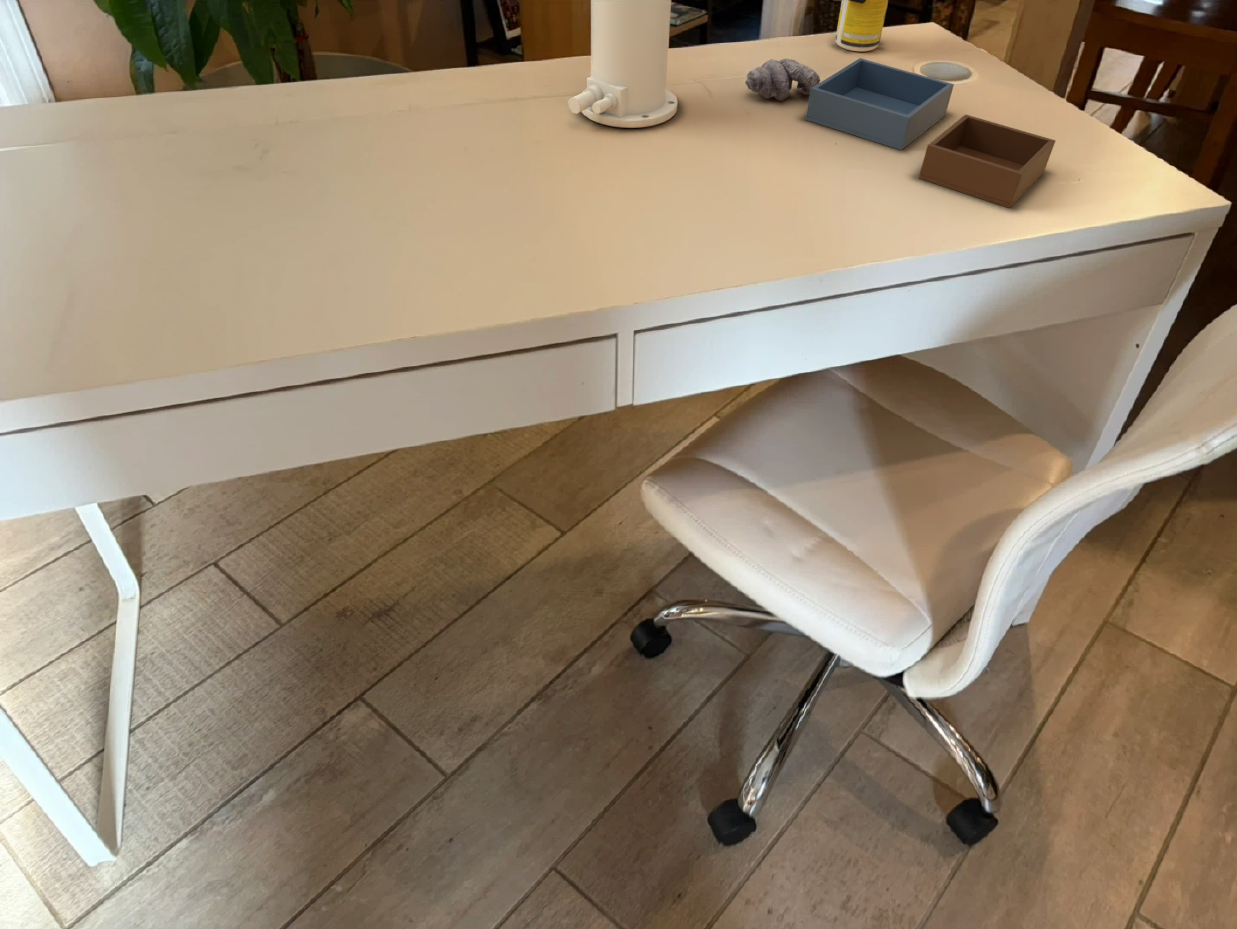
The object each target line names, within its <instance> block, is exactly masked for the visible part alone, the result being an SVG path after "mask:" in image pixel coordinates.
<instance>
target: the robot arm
mask: <svg viewBox="0 0 1237 929" xmlns="http://www.w3.org/2000/svg"><path fill="white" fill-rule="evenodd" d="M849 1H853V2H857V3H864V2H865V1H866V0H849ZM671 11H672V0H590V76H588V77H587V78H586V88H584V90H583V91H581V93H579V94H577V95H576V94H575V96H572V97H571V98H569V99H568V101H567V107H568V109H569V111H570V112H571V113H572V114H573V115H576V114H577V115H578V114H580V113H582V114H583V115H584V116H585V117H586V118H588V119H589V120H591V121H593V122H595V123H598V124H601V125H604V126H609V127H615V128H623V129H624V128H628V129H635V128H647V127H652V126H656V125H659V124H662V123H665V122H666V121H668V120H671V119H672V117H674V116H675V115H676V113H677V111H678V98H677V96H676V95H675V93H673V91H671V90H670V89H668V88H667V80H668V79H667V78H668V65H669V64H668V63H669V46H670V45H669V44H670V29H671Z"/></svg>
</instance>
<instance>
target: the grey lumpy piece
mask: <svg viewBox="0 0 1237 929" xmlns="http://www.w3.org/2000/svg"><path fill="white" fill-rule="evenodd" d="M793 81H794V82H797V84H796V89H797V90H800V89H801V90H800V92H801V93H803V95H804V96H806V95H810V90H811V88H812V87H814V86H815V85H817V84H819V83H820V82H821V77H820V74H819V73H817V71H815V70H814V69H813V68H811V67H808V66H807V65H805V64H803V63H801V62H799V61H797V60H795V59H790V58H783V59H780V60H777V59H773V58H771V59H769V60H766V61H765V62H764V63H763V64H762V65H761V66H757V67H755V68H754V69H751V70H750V71H749V72H748V73H747V74H746V79H745V81H744V83H745V85H746V86H747V89H748V90H750V91H752V92H753V93H757V94H759V95H760V96H761V97H762V98H764V99H771V98H774V99H776V100H777V101H780V102H782V101H784V100H785V99H788V98H789V97H790V94H791V93H790V91H791V90H792V87H793Z"/></svg>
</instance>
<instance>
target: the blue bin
mask: <svg viewBox="0 0 1237 929" xmlns="http://www.w3.org/2000/svg"><path fill="white" fill-rule="evenodd" d="M954 85H955V84H954V83H952V82H948V81H944V80H940V79H937V78H933V77H930V76H927V75H923V74H918V73H916V72H912V71H908V70H905V69H901V68H897V67H894V66H890V65H887V64H884V63H879V62H875V61H871V60H869V59H864V58H861V57H860V58H857V59H855V60H854V61H853V62H851V63H849V64H848V65H846V66H844V67H843V68H842V69H840V70H838V71H837V72H835V73H833V74H832V75H830V76H828V77H827V78H825V79H823V80H821V81H820V82H819V84H817V85H815V86H814V87H812V88H811V90H810V94H809V97H808V103H807V109H806V115H805V120H806V121H808V122H812V123H815V124H817V125H821V126H825V127H827V128H831V129H833V130H836V131H840V132H843V133H846V134H850V135H852V136H856V137H858V138H861V139H865V140H867V141H872V142H875V143H878V144H881V145H884V146H887V147H890V148H893V149H897V150H900V151H902V150H904V148H906V147H907V146H908V145H910V144H911V143H912V142H913V141H915V140H916V139H917V138H919V137H920V136H921V135H922V134H924V133H925V132H926V131H927V130H928V129H930V128H931V127H932V126H934V125H935V124H936V123H937V122H939V121H940V120H941V119H942V118H944V117H945V116H946V115H947V111H948V108H949V105H950V104H949V103H950V100H951V96H952V93H953V90H954Z"/></svg>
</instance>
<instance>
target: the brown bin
mask: <svg viewBox="0 0 1237 929" xmlns="http://www.w3.org/2000/svg"><path fill="white" fill-rule="evenodd" d="M1055 144H1056V140H1055V139H1052V138H1048V137H1045V136H1042V135H1038V134H1035V133H1032V132H1028V131H1025V130H1021V129H1017V128H1014V127H1011V126H1008V125H1004V124H1000V123H997V122H993V121H990V120H987V119H983V118H980V117H976V116H973V115H969V114H964V115H963V116H962V117H960V118H959V119H958V120H957V121H955V122H954V123H953V124H952V125H950V126H949V127H948V128H947V129H946V130H944V131H943V132H942V133H940V134H939V135H938V136H937V137H936V138H935V139H933V140H932V141H930V142H929V143H928V145H927V146H926V150H925V154H924V156H923V161H922V165H921V169H920V172H919V176H918V179H920V180H923V181H926V182H928V183H933V184H934V185H935V184H936V185H939V186H940V187H941V186H942V187H944V188H948V189H950V190H953V191H957V192H958V193H963V194H964V195H965V194H966V195H969V196H972V197H975V198H978V199H981V200H983V201H987V202H990V203H993V204H996V205H999V206H1002V207H1005V208H1008V209H1011V208H1012V207H1013V206H1014V205H1015V204H1016V203H1017V201H1018V200H1019V199H1020V198H1021V197H1022V196H1023V195H1024V194H1025V193H1026V192H1027V191H1028V190H1029V189H1030V188H1031V187H1032V186H1033V185H1034V184H1035V183H1036V181H1038V179H1039V178H1041V177H1042V175H1044V173H1045V171H1046V168H1047V164H1048V163H1049V160H1050V157H1051V154H1052V152H1053V149H1054V146H1055Z"/></svg>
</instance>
